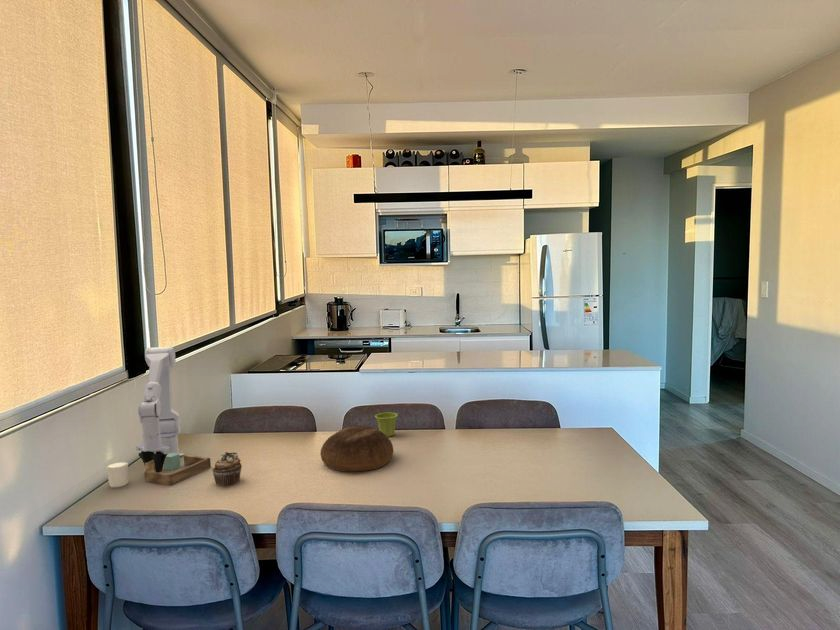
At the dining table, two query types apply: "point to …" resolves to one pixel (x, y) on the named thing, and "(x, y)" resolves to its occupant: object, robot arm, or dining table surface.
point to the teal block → (172, 461)
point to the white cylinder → (117, 474)
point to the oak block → (151, 466)
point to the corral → (180, 471)
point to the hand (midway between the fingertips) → (154, 471)
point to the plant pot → (387, 423)
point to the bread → (357, 449)
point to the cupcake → (227, 469)
